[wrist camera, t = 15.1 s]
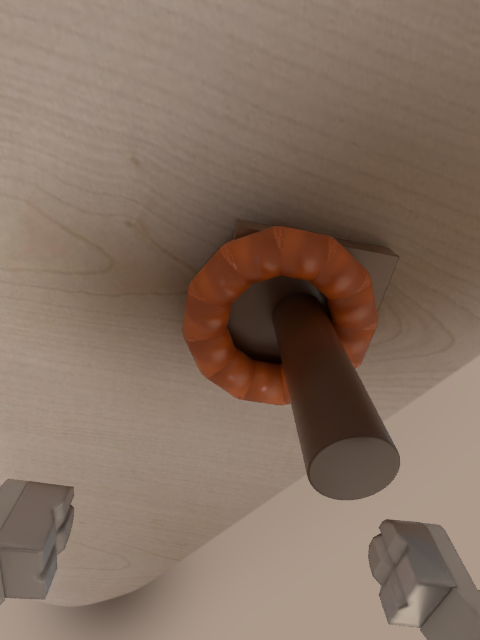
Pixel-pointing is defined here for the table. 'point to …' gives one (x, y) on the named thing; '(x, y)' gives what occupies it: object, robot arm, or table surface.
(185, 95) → the table surface
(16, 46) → the table surface
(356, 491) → the stand
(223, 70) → the table surface
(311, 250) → the orange beaded ring
